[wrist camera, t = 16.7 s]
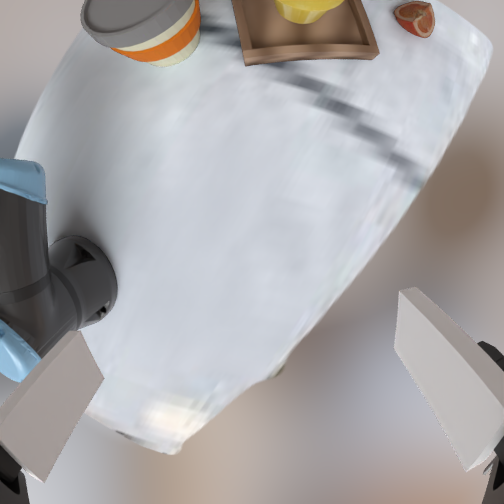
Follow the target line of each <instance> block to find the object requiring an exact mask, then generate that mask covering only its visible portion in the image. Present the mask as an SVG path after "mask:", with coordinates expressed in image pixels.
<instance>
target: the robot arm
mask: <svg viewBox="0 0 504 504" xmlns="http://www.w3.org/2000/svg"><path fill="white" fill-rule="evenodd" d="M46 204H47V199H46V187H45V172H44V169H43V167H42V166H41V165H40V164H39V163H37V162H33V161H27V160H18V159H4V158H0V372H1V373H2V374H4V375H5V376H7V377H9V378H10V379H12V380H14V381H17V382H21V383H20V384H19V386H18V387H17V388H16V389H15V390H14V392H13V393H12V394H11V395H10V396H9V397H8V399H7V400H6V401H5V402H4V403H3V405H2V406H1V407H0V504H30V503H29V498H28V493H27V486H26V480H25V476H24V474H23V473H22V472H21V471H20V470H21V469H22V468H23V469H24V470H25V471H27V472H28V474H30V475H31V476H32V477H33V478H35V479H37V480H39V481H41V482H43V483H45V481H46V479H47V477H48V475H49V473H50V471H51V470H52V468H53V466H54V464H55V462H56V460H57V458H58V456H59V455H60V453H61V451H62V449H63V447H64V446H65V444H66V442H67V440H68V439H69V437H70V435H71V433H72V432H73V429H74V428H75V426H76V424H77V423H78V421H79V419H80V418H81V416H82V414H83V413H84V411H85V409H86V408H87V406H88V404H89V403H90V401H91V400H92V398H93V396H94V395H95V393H96V391H97V390H98V388H99V387H100V385H101V383H102V382H103V380H104V377H103V375H102V373H101V371H100V369H99V368H98V366H97V364H96V362H95V360H94V358H93V356H92V354H91V352H90V350H89V348H88V346H87V344H86V342H85V339H84V337H83V335H82V333H81V331H77V330H78V329H81V328H83V327H86V326H89V325H91V324H94V323H97V322H99V321H100V320H102V319H103V318H104V317H105V316H106V315H107V314H108V313H109V312H110V311H111V309H112V308H113V306H114V304H115V301H116V297H117V283H116V278H115V274H114V271H113V269H112V266H111V264H110V262H109V261H108V259H107V257H106V256H105V255H104V253H103V252H102V251H101V250H100V249H99V248H98V247H97V246H96V245H95V244H94V243H92V242H91V241H89V240H87V239H85V238H83V237H79V236H68V237H65V238H63V239H61V240H59V241H57V242H55V243H54V244H52V245H51V246H50V247H49V249H48V240H47V223H46ZM394 350H395V352H396V353H397V355H398V356H399V358H400V359H401V361H402V362H403V364H404V365H405V367H406V368H407V370H408V372H409V373H410V375H411V376H412V378H413V380H414V381H415V383H416V385H417V386H418V388H419V389H420V391H421V392H422V394H423V396H424V398H425V399H426V401H427V403H428V404H429V406H430V408H431V409H432V411H433V413H434V415H435V416H436V418H437V420H438V422H439V423H440V425H441V427H442V428H443V430H444V432H445V434H446V436H447V438H448V440H449V441H450V443H451V445H452V447H453V449H454V451H455V453H456V455H457V457H458V458H459V460H460V462H461V464H462V466H463V468H464V470H465V472H467V471H469V470H471V469H472V468H474V467H476V466H477V465H479V464H480V463H482V462H483V461H485V460H486V459H487V458H488V456H489V455H490V454H491V453H492V451H493V450H494V451H495V453H496V454H497V456H496V457H495V458H494V459H493V461H492V462H491V463H490V464H489V465H488V466H487V467H486V468H485V470H484V473H483V475H485V474H486V473H487V472H488V471H489V470H490V469H491V468H492V470H491V473H490V478H489V482H488V485H487V489H486V492H485V495H484V499H483V502H482V504H504V356H503V355H502V354H501V353H500V352H499V351H498V350H497V349H496V348H495V347H494V346H492V345H490V344H488V343H485V342H484V341H481V342H479V343H476V342H475V341H474V340H473V339H472V338H471V337H470V336H469V335H468V334H467V333H466V332H465V331H464V330H463V329H462V328H461V327H459V326H458V325H457V324H456V323H455V322H454V321H453V320H452V319H451V318H450V317H449V316H448V315H447V314H446V313H445V312H444V311H442V310H441V309H440V308H439V307H438V306H437V305H436V304H435V303H434V302H433V301H431V300H430V299H429V298H428V297H427V296H426V295H425V294H424V293H422V292H421V291H420V290H419V289H418V288H417V287H413V288H408V289H404V290H400V291H399V301H398V314H397V325H396V334H395V343H394Z"/></svg>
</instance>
